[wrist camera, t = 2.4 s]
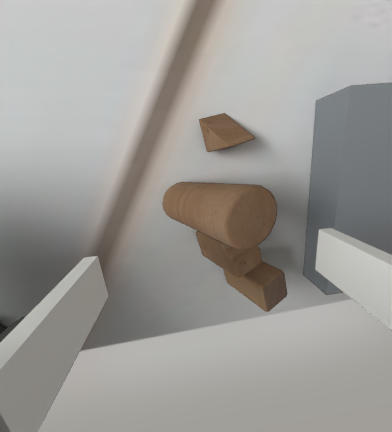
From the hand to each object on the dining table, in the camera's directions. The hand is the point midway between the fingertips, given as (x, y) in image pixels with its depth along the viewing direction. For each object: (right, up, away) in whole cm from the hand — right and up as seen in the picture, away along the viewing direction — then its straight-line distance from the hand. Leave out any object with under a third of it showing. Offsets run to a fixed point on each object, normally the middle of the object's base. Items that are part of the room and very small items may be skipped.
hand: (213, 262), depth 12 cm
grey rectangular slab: (+17, +5, +11) cm, 21 cm away
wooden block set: (+1, +3, +10) cm, 11 cm away
